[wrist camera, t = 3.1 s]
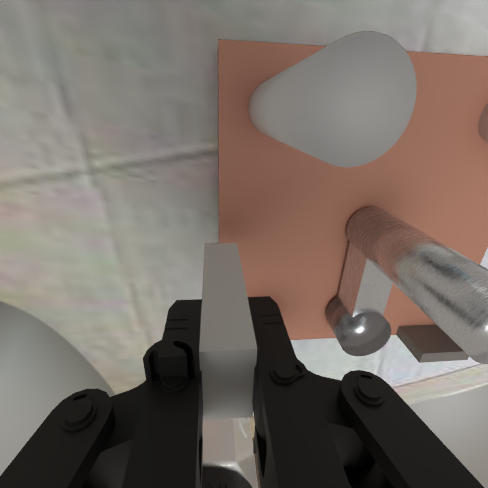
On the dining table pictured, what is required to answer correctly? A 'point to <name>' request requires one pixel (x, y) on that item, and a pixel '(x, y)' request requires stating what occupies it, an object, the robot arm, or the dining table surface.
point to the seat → (348, 167)
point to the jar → (228, 454)
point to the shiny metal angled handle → (406, 285)
